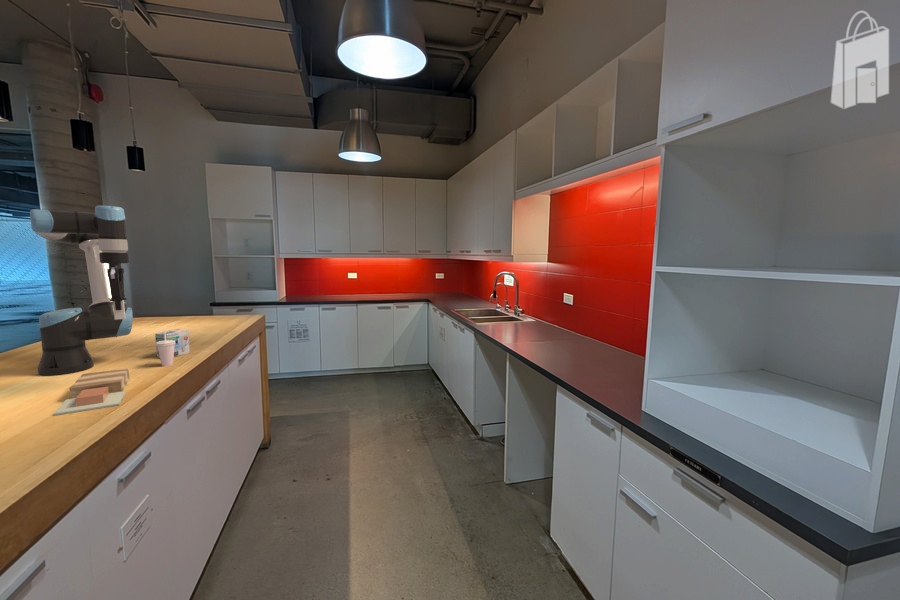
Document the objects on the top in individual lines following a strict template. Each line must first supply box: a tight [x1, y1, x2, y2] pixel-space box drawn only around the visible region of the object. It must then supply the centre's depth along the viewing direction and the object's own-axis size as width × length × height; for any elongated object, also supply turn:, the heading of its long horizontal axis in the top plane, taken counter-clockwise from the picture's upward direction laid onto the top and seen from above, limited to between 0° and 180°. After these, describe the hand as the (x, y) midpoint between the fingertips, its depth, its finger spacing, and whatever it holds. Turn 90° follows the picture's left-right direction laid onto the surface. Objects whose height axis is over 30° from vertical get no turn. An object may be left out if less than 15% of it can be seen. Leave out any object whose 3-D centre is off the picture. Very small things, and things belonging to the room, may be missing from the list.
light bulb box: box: [154, 328, 190, 359], centre depth 166 cm, size 11×7×11 cm, turn 167°
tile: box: [75, 387, 109, 407], centre depth 115 cm, size 8×6×2 cm
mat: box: [53, 390, 127, 417], centre depth 114 cm, size 12×14×1 cm
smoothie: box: [155, 331, 175, 367], centre depth 152 cm, size 6×6×14 cm
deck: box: [69, 368, 130, 399], centre depth 125 cm, size 16×12×4 cm
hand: (120, 318), depth 132 cm, fingers closed
